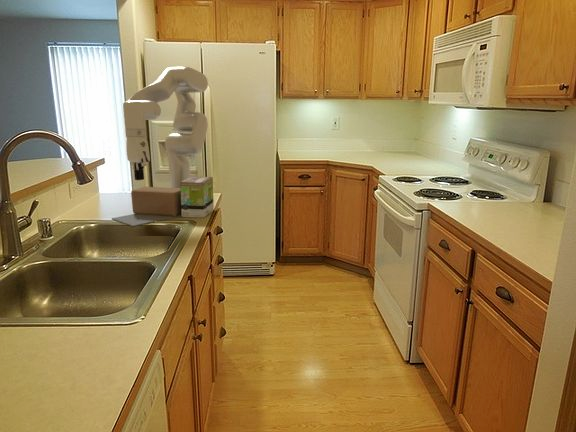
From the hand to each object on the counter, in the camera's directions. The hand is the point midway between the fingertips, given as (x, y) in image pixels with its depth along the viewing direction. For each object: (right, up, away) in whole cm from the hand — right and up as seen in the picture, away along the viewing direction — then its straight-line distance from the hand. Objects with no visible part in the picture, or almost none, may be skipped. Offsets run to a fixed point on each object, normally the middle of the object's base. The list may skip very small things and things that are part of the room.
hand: (139, 179), depth 176 cm
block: (-4, -8, +9) cm, 12 cm away
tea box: (+22, -14, +8) cm, 27 cm away
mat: (+3, -15, +1) cm, 16 cm away
